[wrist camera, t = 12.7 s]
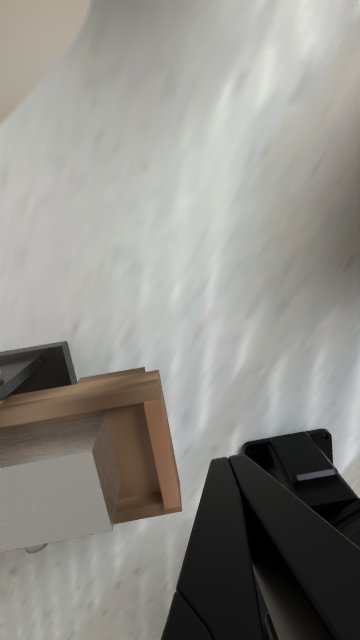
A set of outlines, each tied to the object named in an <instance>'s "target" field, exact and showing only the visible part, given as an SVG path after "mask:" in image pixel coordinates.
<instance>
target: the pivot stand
mask: <svg viewBox="0 0 360 640" xmlns="http://www.w3.org/2000/svg"><path fill="white" fill-rule="evenodd" d="M75 384H77V379H76V375H75V371H74V367H73V363H72V359H71V355H70V352H69V348H68V344H67V341H64V342H58V343H52V344H46V345H40V346H34V347H28V348H22V349H16V350H10V351H4V352H0V398H4V397H7V396H11V395H17V394H23V393H29V392H34V391H40V390H46V389H52V388H57V387H63V386H69V385H75ZM47 544H48V543H46V544H41V545H36V546H31V547H25V549H26V551H27V552H28V553H36V552H38V551H40V550H42V549H43V548H44V547H46V545H47Z"/></svg>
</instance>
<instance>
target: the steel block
mask: <svg viewBox="0 0 360 640" xmlns="http://www.w3.org/2000/svg"><path fill="white" fill-rule="evenodd" d="M120 484H121V477H120V473H119V469H118V465H117V461H116V456H115V452H114V448H113V444H112V440H111V436H110V431H109V427H108V423H107V419H106V415H105V413H103V414H98V415H92V416H87V417H81V418H76V419H70V420H65V421H59V422H54V423H48V424H42V425H37V426H31V427H26V428H20V429H15V430H9V431H6V432H5V433H4V434H3V435H2V436H1V437H0V552H4V551H10V550H15V549H20V548H25V547H31V546H36V545H41V544H46V543H51V542H57V541H62V540H67V539H72V538H77V537H83V536H88V535H93V534H98V533H103V532H109V531H112V530H113V524H114V519H115V513H116V507H117V501H118V496H119V490H120Z"/></svg>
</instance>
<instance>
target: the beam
mask: <svg viewBox="0 0 360 640" xmlns="http://www.w3.org/2000/svg"><path fill="white" fill-rule="evenodd" d="M103 413H105V415H106V419H107V423H108V427H109V431H110V436H111V440H112V444H113V448H114V452H115V456H116V461H117V465H118V469H119V473H120V477H121V484H120V490H119V496H118V501H117V507H116V513H115V519H114V524H117V523H122V522H127V521H133V520H138V519H143V518H149V517H154V516H159V515H165V514H170V513H175V512H180V511H182V505H181V493H180V482H179V477H178V472H177V466H176V461H175V455H174V450H173V445H172V439H171V434H170V428H169V423H168V418H167V412H166V407H165V401H164V396H163V391H162V385H161V380H160V375H159V370H155V371H149V372H145V367H142V368H137V369H131V370H125V371H119V372H113V373H108V374H102V375H96V376H90V377H85V378H80V379H79V381H78V383H77V384H75V385H69V386H63V387H57V388H52V389H46V390H40V391H34V392H29V393H23V394H17V395H11V396H7V397H4V398H0V437H1V436H2V435H3V434H4V433H5V432H6V431H9V430H15V429H20V428H26V427H31V426H37V425H42V424H48V423H54V422H59V421H65V420H70V419H76V418H81V417H87V416H92V415H98V414H103Z"/></svg>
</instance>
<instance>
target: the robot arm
mask: <svg viewBox="0 0 360 640" xmlns="http://www.w3.org/2000/svg"><path fill="white" fill-rule="evenodd" d="M323 435H325V436H324V437H323V438H322V436H323ZM249 448H253V449H252V450H248V449H249ZM243 451H244V454H239V455H233V456H230V457H229V458H227V457H222V458H216V459H212V460H211V463H210V466H209V470H208V474H207V477H206V481H205V484H204V488H203V492H202V495H201V499H200V503H199V506H198V510H197V514H196V517H195V521H194V524H193V528H192V532H191V535H190V539H189V543H188V546H187V550H186V553H185V557H184V561H183V564H182V568H181V572H180V575H179V579H178V582H177V586H176V592H175V593H174V596H173V600H172V603H171V607H170V611H169V614H168V618H167V621H166V624H165V627H164V631H163V634H162V637H161V640H360V498H358V496H357V495H356V494H355V493H354V491H353V490H352V489H351V488H350V486H349V485H348V484H347V483H346V481H345V480H344V479H343V478H342V476H341V475H340V474H339V473H338V471H337V469H336V468H335V466H334V465H333V455H332V436H331V434H330V433H329V432H328V431H327V430H326V429H317V430H312V431H306V432H299V433H293V434H287V435H282V436H276V437H272V438H267V439H261V440H255V441H250V442H247V443H245V444H244V446H243Z"/></svg>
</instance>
